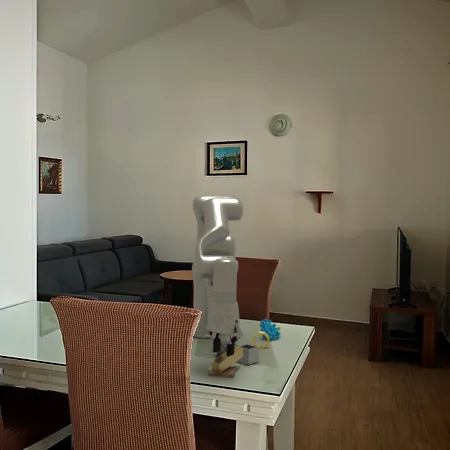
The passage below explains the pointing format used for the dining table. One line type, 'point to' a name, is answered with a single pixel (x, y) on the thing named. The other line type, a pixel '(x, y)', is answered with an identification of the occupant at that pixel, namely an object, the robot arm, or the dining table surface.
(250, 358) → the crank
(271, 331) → the gear
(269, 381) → the dining table surface
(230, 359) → the tan wooden bar
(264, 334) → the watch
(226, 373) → the board
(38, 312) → the dining table surface
